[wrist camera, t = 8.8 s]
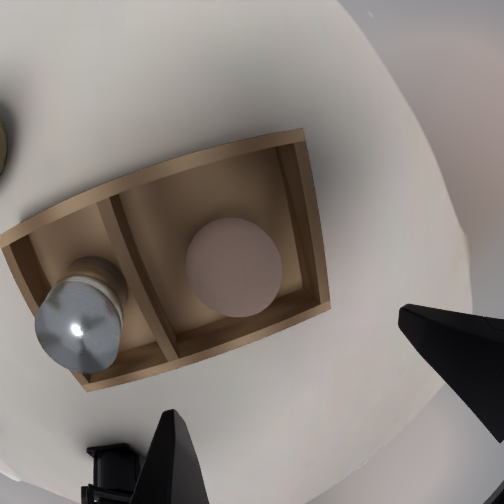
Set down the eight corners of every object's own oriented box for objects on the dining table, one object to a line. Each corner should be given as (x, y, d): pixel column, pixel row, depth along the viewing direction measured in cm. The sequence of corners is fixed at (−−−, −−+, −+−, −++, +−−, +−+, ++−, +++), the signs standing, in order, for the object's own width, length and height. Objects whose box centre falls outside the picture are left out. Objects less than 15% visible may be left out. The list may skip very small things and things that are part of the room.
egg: (239, 195, 18) (285, 217, 12) (267, 260, 20) (317, 309, 14) (167, 231, 17) (171, 276, 11) (203, 294, 20) (226, 360, 13)
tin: (83, 327, 17) (65, 380, 12) (52, 268, 16) (18, 310, 10) (139, 308, 18) (135, 362, 13) (111, 245, 16) (90, 282, 11)
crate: (92, 364, 19) (87, 392, 16) (20, 223, 14) (-3, 236, 11) (309, 289, 23) (330, 308, 20) (279, 132, 18) (302, 127, 15)
